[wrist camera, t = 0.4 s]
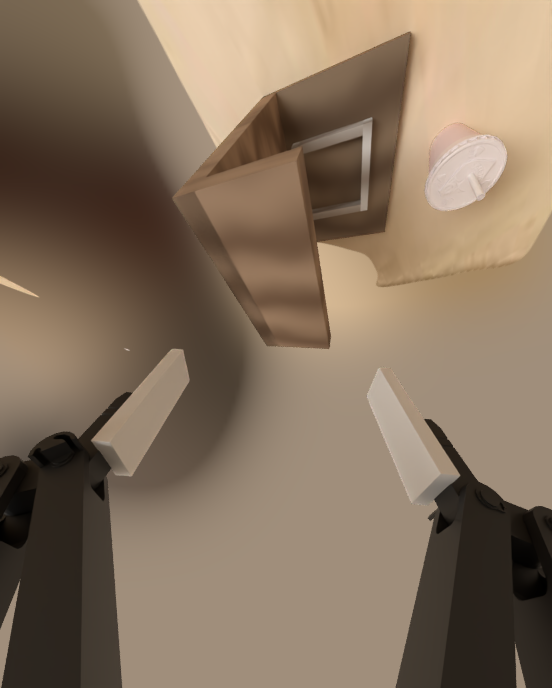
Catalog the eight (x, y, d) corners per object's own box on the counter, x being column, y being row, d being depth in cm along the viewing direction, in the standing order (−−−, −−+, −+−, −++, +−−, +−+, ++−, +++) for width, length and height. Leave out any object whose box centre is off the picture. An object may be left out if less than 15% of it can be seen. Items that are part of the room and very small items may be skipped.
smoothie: (487, 145, 25) (527, 206, 19) (425, 185, 30) (440, 245, 23) (477, 87, 22) (521, 135, 15) (409, 141, 27) (421, 197, 20)
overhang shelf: (263, 97, 26) (171, 198, 14) (409, 31, 20) (460, 111, 8) (296, 241, 42) (266, 345, 30) (384, 228, 36) (389, 351, 24)
